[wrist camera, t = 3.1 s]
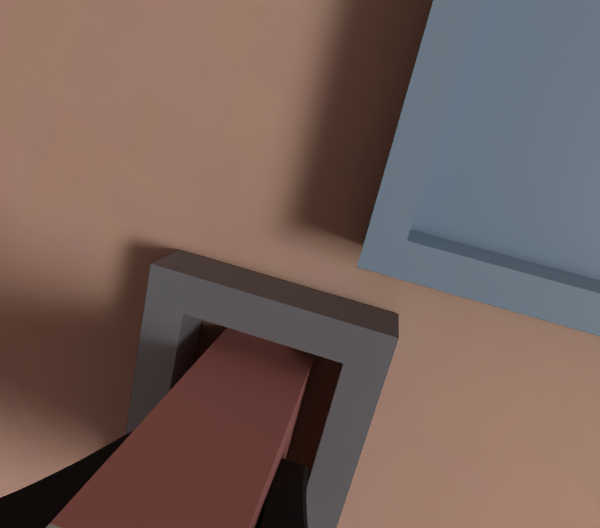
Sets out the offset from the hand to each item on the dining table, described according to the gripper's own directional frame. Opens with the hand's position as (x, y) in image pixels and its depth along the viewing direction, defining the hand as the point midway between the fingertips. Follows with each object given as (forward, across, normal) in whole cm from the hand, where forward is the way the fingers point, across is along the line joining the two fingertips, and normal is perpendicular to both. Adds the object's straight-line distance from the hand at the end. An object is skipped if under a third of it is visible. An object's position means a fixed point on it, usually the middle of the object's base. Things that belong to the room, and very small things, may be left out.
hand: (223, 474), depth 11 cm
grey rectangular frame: (+2, 0, 0) cm, 2 cm away
